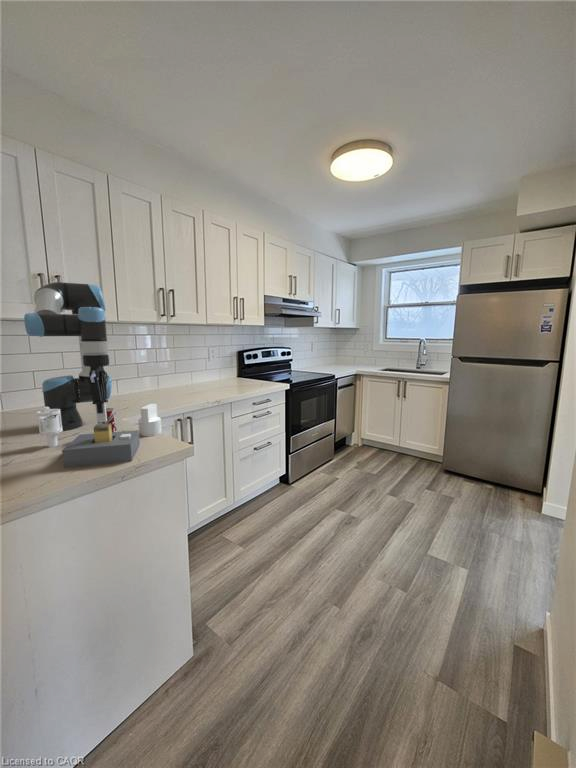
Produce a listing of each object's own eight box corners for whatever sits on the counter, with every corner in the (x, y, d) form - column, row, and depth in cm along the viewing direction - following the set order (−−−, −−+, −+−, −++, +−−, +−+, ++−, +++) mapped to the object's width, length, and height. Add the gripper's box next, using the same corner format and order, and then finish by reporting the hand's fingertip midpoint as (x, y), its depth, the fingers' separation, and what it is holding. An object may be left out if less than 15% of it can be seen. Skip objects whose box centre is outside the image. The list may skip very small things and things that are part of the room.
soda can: (100, 436, 131) (97, 408, 130) (118, 434, 134) (116, 407, 132) (98, 441, 125) (95, 412, 123) (116, 438, 128) (114, 410, 126)
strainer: (61, 441, 125) (56, 405, 122) (66, 445, 120) (62, 407, 118) (39, 446, 120) (34, 408, 117) (44, 450, 115) (39, 411, 113)
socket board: (81, 450, 116) (79, 432, 115) (139, 444, 121) (138, 428, 120) (64, 467, 101) (61, 447, 100) (131, 460, 106) (130, 441, 105)
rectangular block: (99, 451, 112) (96, 424, 111) (113, 449, 114) (111, 423, 112) (96, 455, 108) (93, 428, 106) (110, 454, 109) (108, 426, 108)
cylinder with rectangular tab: (145, 429, 141) (143, 403, 139) (165, 429, 140) (163, 403, 138) (135, 436, 132) (133, 408, 130) (156, 436, 131) (154, 408, 130)
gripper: (89, 353, 110) (95, 417, 114) (75, 355, 98) (83, 427, 102) (112, 352, 112) (118, 416, 116) (102, 355, 100) (109, 425, 104)
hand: (102, 421), depth 109 cm, fingers closed
